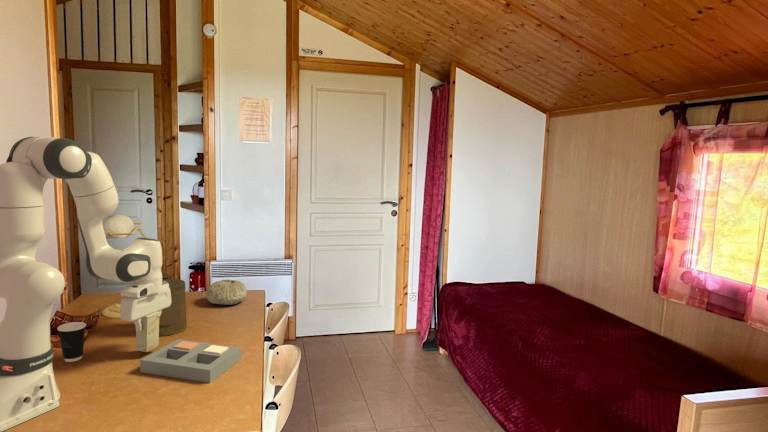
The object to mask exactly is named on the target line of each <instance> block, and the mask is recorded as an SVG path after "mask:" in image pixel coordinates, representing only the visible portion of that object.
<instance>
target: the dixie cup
mask: <svg viewBox="0 0 768 432" xmlns="http://www.w3.org/2000/svg"><path fill="white" fill-rule="evenodd" d="M86 327H87V323H85V322H81V321H74V322H67V323H63V324H60V325H59V326H58V327H57V328H56V330H57V331H58V336H59V341H60V346H61V352H62V356H63V359H64V361H65V363H67V362H68V363H69V362H71V363H72V362H76V361H77V362H78V361H80V360H81V359H82V358H83V354H84V349H85V348H84V347H85V338H86V337H85V335H86Z"/></svg>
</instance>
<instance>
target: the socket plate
mask: <svg viewBox="0 0 768 432" xmlns="http://www.w3.org/2000/svg"><path fill="white" fill-rule="evenodd" d="M241 360H242V347H241V346H234V345H233V346H231V345H224V344H218V343H217V344H216V343H209V342H202V341H195V340H187V339H180V338H178V339H175V340H173V341H172V342H169V343H168V344H166V345H165V346H162V347H161V348H159V349H158V350H156V351H154V352H152V353H150V354H148V355H147V356H145V357H143V358H141V359H139V362H140V364H139V366H140V369H139V370H140V373H144V374H149V375H157V376H163V377H169V378H175V379H180V380H181V379H182V380H188V381H196V382H202V383H207V384H211V383H212V382H213V381H215V380H216V379H217V378H219V377H220V376H221V375H223V374H224V373H225V372H226V371H228V370H230V368H232V367H233V366H235V364H237V363H239V361H241Z"/></svg>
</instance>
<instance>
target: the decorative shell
mask: <svg viewBox="0 0 768 432" xmlns="http://www.w3.org/2000/svg"><path fill="white" fill-rule="evenodd" d="M247 293H248V288H246V285H245V283H242V282H241V281H240V280H237V279H222V280H219V281H217V280H216V281H215V282H212V283H211V284H210V285H209V287H207V288H206V291H205V298H206V300H207V301H209V302H210V303H211V304H215V305H224V306H233V305H237V304H238V303H241V302H243V300H244V299H246V296H247Z"/></svg>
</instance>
